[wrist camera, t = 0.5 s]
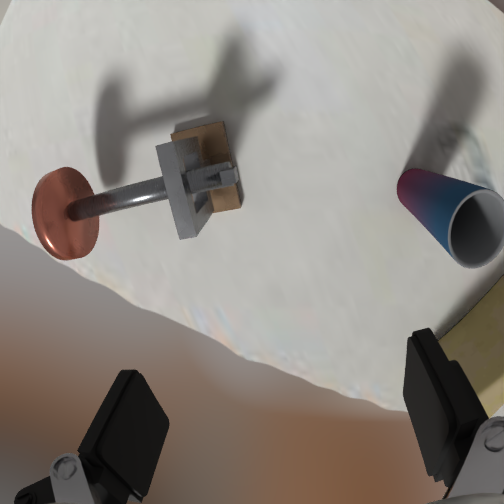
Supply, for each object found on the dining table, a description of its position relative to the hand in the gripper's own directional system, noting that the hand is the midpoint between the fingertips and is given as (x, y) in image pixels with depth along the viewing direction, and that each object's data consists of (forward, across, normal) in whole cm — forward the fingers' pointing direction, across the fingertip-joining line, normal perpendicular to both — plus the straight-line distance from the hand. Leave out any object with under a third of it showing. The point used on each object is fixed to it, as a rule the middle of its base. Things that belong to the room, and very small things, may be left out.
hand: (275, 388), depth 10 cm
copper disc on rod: (+26, +13, -5) cm, 29 cm away
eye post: (+29, +7, -5) cm, 30 cm away
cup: (+29, -16, +2) cm, 33 cm away
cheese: (+29, -26, +25) cm, 47 cm away
